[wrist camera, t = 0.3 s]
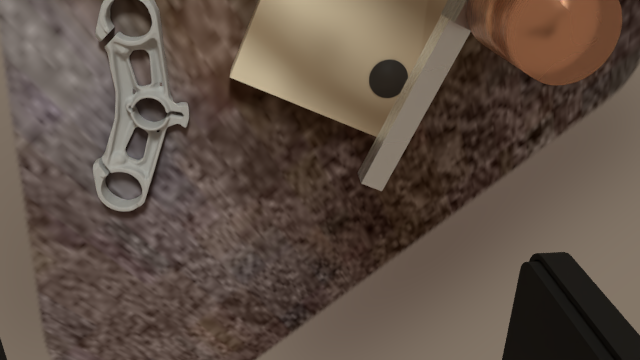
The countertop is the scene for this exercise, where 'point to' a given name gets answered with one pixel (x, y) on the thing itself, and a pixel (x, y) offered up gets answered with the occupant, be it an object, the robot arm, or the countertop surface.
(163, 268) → the countertop surface
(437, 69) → the frame
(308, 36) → the board
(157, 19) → the bracket
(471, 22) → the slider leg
